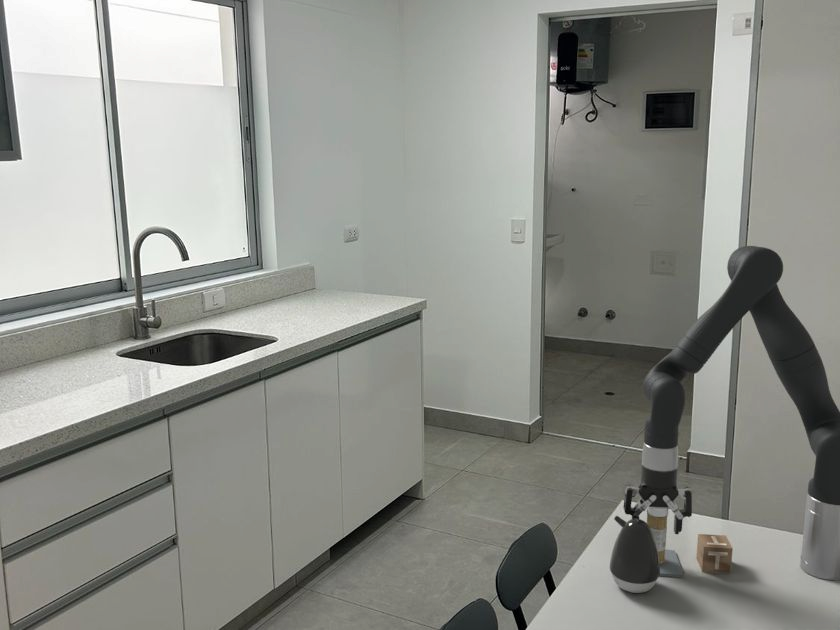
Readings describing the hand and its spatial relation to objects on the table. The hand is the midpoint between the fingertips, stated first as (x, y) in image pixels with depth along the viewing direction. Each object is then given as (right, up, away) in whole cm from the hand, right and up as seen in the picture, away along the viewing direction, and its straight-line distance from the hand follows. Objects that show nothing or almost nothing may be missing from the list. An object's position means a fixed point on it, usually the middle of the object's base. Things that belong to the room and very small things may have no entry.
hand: (656, 532), depth 181 cm
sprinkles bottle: (0, -7, +2) cm, 7 cm away
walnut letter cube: (+13, -8, +1) cm, 15 cm away
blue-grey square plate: (0, -7, +2) cm, 8 cm away
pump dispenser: (-7, -10, -8) cm, 14 cm away
